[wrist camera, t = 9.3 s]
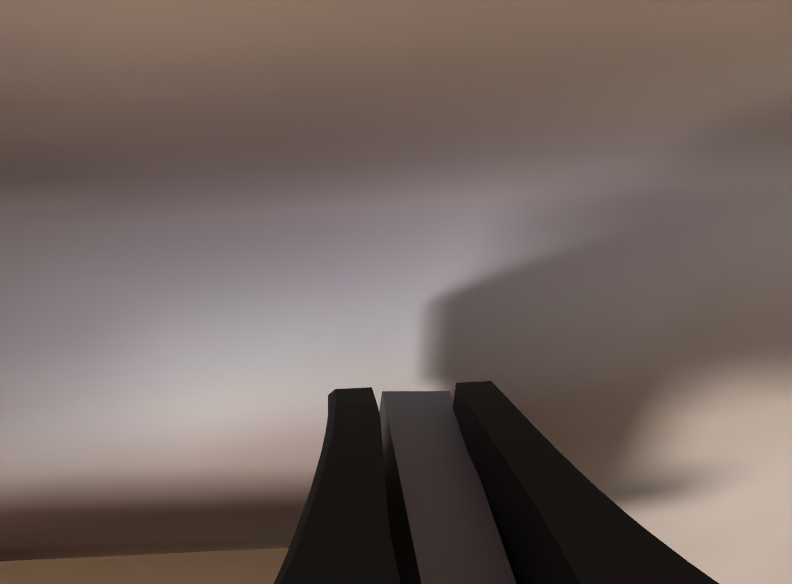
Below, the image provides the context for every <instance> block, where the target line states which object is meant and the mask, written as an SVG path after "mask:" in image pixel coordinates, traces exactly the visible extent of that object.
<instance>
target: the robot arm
mask: <svg viewBox="0 0 792 584" xmlns="http://www.w3.org/2000/svg"><path fill="white" fill-rule="evenodd" d="M453 410H454V413H455V416H456V419H457V422H458V425H459V428H460V431H461V434H462V437H463V440H464V443H465V446H466V448H467V451H468V454H469V456H470V458H471V460H472V462H473V464H474V467H475V469H476V471H477V473H478V475H479V478H480V480H481V483H482V486H483V489H484V492H485V495H486V498H487V500H488V503H489V506H490V509H491V512H492V515H493V518H494V521H495V524H496V526H497V529H498V532H499V535H500V538H501V541H502V544H503V547H504V549H505V552H506V555H507V558H508V561H509V564H510V567H511V570H512V573H513V575H514V578H515V581H516V584H719V583H717V582H716V581H714V580H713V579H712V578H710V577H709V576H707V575H706V574H705V573H703V572H702V571H700V570H699V569H698V568H696V567H695V566H693V565H692V564H691V563H689V562H688V561H686V560H685V559H684V558H683V557H681V556H680V555H679V554H677V553H676V552H675V551H673V550H672V549H671V548H669V547H668V546H667V545H666V544H664V543H663V542H662V541H660V540H659V539H658V538H656V537H655V536H654V535H652V534H651V533H650V532H649V531H647V530H646V529H645V528H644V527H642V526H641V525H640V524H639V523H637V522H636V521H635V520H634V519H632V518H631V517H630V516H629V515H628V514H626V513H625V512H624V511H623V510H622V509H621V508H620V507H618V506H617V505H616V504H615V503H614V502H613V501H612V500H610V499H609V498H608V497H607V496H606V495H605V494H604V493H602V492H601V491H600V490H599V489H598V488H597V487H596V486H595V485H593V484H592V483H591V482H590V481H589V480H588V479H587V478H586V477H585V476H584V475H583V474H582V473H581V472H580V471H579V470H578V469H577V468H575V467H574V466H573V465H572V464H571V463H570V462H569V461H568V460H567V459H566V458H565V457H564V456H563V455H562V454H561V453H560V452H559V451H558V450H557V449H556V448H555V447H554V446H553V445H552V444H551V443H550V442H549V441H548V440H547V439H546V438H545V437H544V436H543V435H542V434H541V433H540V432H539V431H538V430H537V429H536V428H535V427H534V426H533V425H532V424H531V422H530V421H529V420H528V419H527V418H526V417H525V416H524V415H523V414H522V413H521V412H520V411H519V410H518V409H517V408H516V407H515V406H514V405H513V404H512V402H511V401H510V400H509V399H508V398H507V397H506V396H505V395H504V394H503V393H502V392H501V391H500V390H499V389H498V388H497V387H496V386H495V385H494V384H493V383H492V382H491V381H485V382H466V383H456V389H455V396H454V404H453ZM274 584H401V583H400V579H399V574H398V569H397V565H396V560H395V555H394V551H393V546H392V541H391V534H390V527H389V519H388V509H387V496H386V483H385V470H384V457H383V444H382V432H381V420H380V414H379V410H378V406H377V403H376V399H375V396H374V393H373V390H372V387H370V388H351V389H335V390H334V391H333V392H331V393H330V394H329V395H328V420H327V427H326V433H325V438H324V442H323V447H322V451H321V455H320V459H319V462H318V466H317V469H316V473H315V476H314V480H313V484H312V487H311V490H310V493H309V496H308V499H307V502H306V504H305V507H304V510H303V513H302V515H301V518H300V521H299V524H298V526H297V529H296V532H295V535H294V537H293V540H292V542H291V545H290V547H289V550H288V552H287V554H286V557H285V559H284V561H283V564H282V566H281V568H280V571H279V573H278V575H277V577H276V580H275V582H274Z"/></svg>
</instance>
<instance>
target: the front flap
mask: <svg viewBox="0 0 792 584" xmlns="http://www.w3.org/2000/svg"><path fill="white" fill-rule="evenodd" d="M453 404H454V403H453V400H452V397H451V394H450V391H382V397H381V404H380V411H379V414H380V420H381V432H382V444H383V457H384V470H385V483H386V496H387V509H388V519H389V527H390V534H391V541H392V546H393V551H394V555H395V560H396V565H397V569H398V574H399V579H400V583H401V584H516V581H515V578H514V575H513V573H512V570H511V567H510V564H509V561H508V558H507V555H506V552H505V549H504V547H503V544H502V541H501V538H500V535H499V532H498V529H497V526H496V524H495V521H494V518H493V515H492V512H491V509H490V506H489V503H488V500H487V498H486V495H485V492H484V489H483V486H482V483H481V480H480V478H479V475H478V473H477V471H476V469H475V467H474V464H473V462H472V460H471V458H470V456H469V454H468V451H467V448H466V446H465V443H464V440H463V437H462V434H461V431H460V428H459V425H458V422H457V419H456V416H455V413H454V410H453ZM288 550H289V547H288V548H268V549H247V550H226V551H205V552H184V553H163V554H142V555H122V556H101V557H80V558H59V559H38V560H17V561H0V584H274V582H275V580H276V577H277V575H278V573H279V571H280V568H281V566H282V564H283V561H284V559H285V557H286V554H287V552H288Z"/></svg>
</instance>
